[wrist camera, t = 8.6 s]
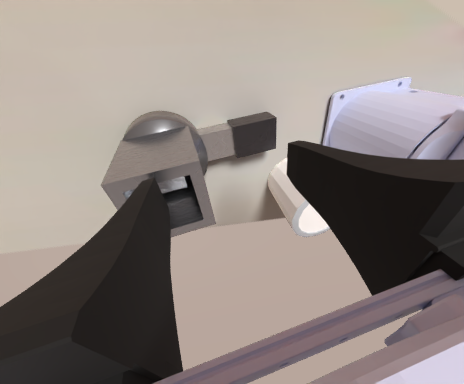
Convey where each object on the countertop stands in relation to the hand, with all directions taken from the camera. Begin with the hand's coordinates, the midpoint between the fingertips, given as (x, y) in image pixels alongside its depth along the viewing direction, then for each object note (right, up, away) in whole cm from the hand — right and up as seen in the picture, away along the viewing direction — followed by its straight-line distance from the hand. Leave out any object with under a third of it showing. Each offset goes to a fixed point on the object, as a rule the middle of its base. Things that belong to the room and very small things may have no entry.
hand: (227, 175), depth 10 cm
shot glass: (+7, +1, +14) cm, 16 cm away
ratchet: (-3, +4, +8) cm, 9 cm away
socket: (-5, +2, +6) cm, 8 cm away
